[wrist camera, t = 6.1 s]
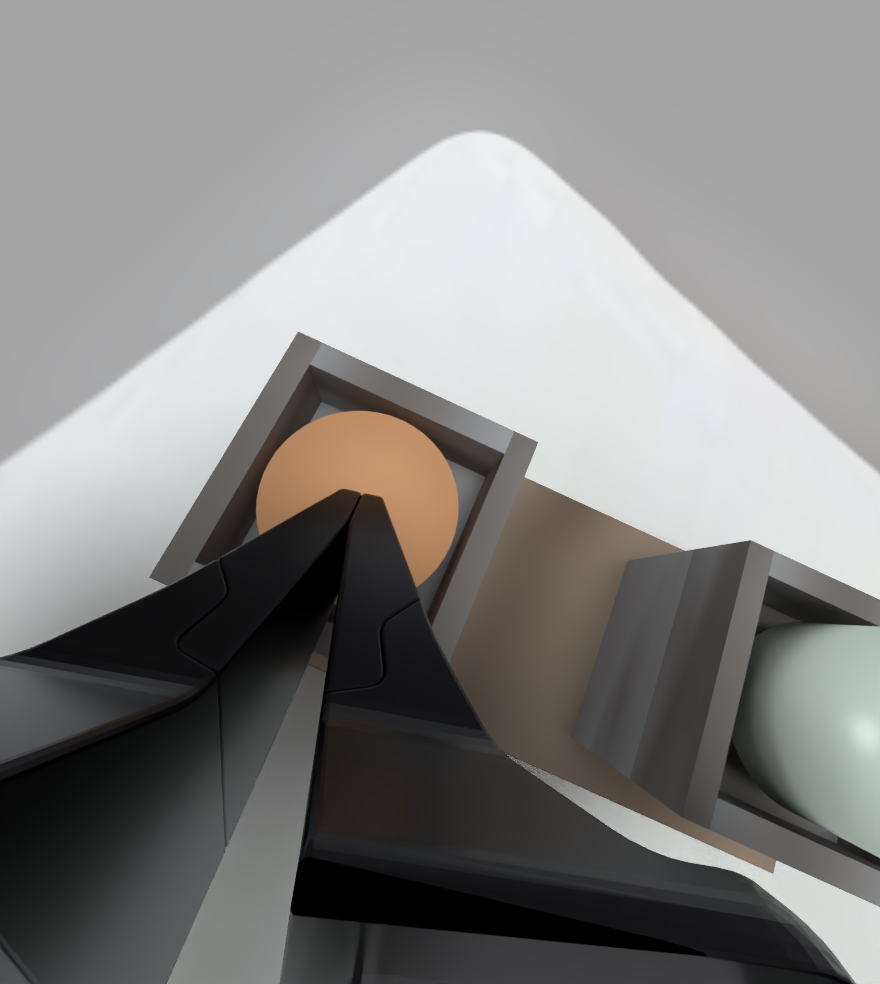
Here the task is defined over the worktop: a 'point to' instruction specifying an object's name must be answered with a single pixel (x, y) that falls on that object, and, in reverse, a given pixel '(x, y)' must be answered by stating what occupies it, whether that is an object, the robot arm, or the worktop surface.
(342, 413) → the terracotta button
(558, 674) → the button board
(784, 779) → the sage button
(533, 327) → the worktop surface
